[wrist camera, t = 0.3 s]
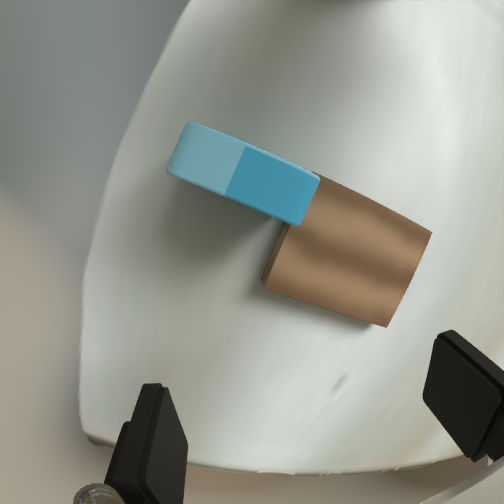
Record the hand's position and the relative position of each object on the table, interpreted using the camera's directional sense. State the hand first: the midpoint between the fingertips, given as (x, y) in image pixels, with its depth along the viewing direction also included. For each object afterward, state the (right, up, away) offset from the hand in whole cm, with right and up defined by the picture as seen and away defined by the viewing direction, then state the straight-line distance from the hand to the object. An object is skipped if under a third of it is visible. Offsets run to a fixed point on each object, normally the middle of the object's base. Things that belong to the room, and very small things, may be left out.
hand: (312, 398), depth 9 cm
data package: (-3, +14, +26) cm, 29 cm away
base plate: (+10, +5, +29) cm, 31 cm away
